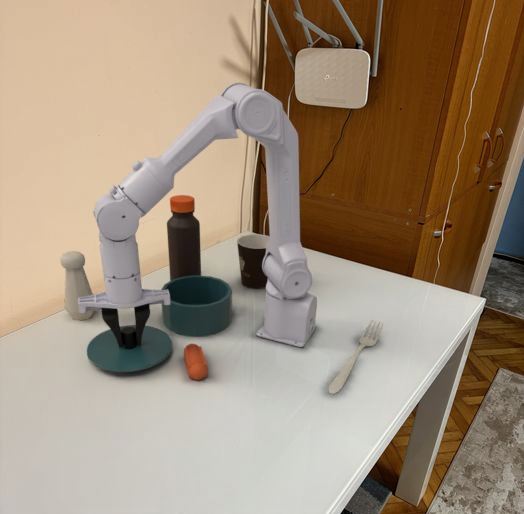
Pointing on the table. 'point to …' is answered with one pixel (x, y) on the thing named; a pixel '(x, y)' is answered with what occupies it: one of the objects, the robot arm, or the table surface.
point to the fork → (354, 359)
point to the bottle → (183, 238)
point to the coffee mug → (252, 260)
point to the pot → (197, 305)
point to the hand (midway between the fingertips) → (130, 343)
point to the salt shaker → (75, 284)
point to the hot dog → (195, 362)
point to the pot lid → (129, 349)
